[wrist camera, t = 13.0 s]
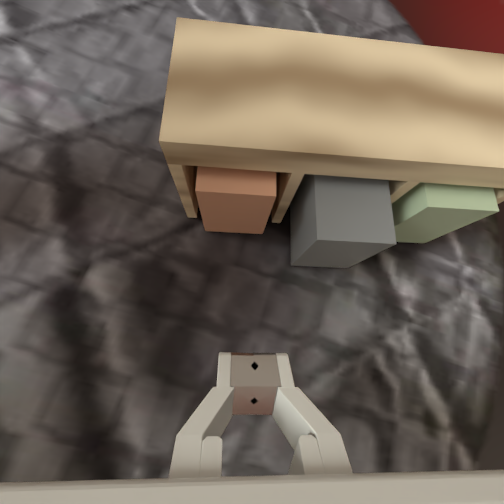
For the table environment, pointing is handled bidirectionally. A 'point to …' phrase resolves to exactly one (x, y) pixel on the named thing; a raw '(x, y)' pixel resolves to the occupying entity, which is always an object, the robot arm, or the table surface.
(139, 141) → the table surface
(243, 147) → the key console
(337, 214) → the slate key
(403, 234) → the sage key
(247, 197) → the terracotta key
